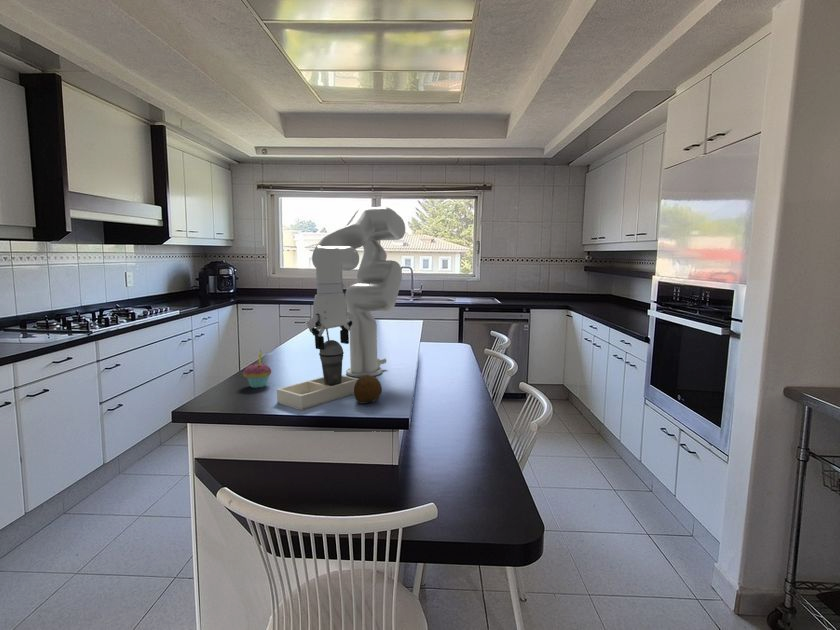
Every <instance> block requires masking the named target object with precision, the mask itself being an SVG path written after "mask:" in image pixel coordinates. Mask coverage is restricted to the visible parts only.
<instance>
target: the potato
mask: <svg viewBox="0 0 840 630" xmlns="http://www.w3.org/2000/svg"><path fill="white" fill-rule="evenodd" d="M357 379H358V380H357V382H356V384H355V387H354V394H353V395H354V398H355V401H356V402H357V403H360V404H367V403H368V404H369V403H372V402H374V401H376V400H378V399H379V397H380V396H381V394H382V391H383V388H382V387H383V386H382V385H381V382H380V381H379V379H378V378H377V377H376V376H369V375H365V376H362V377H358V378H357Z"/></svg>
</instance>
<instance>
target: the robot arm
mask: <svg viewBox="0 0 840 630" xmlns="http://www.w3.org/2000/svg"><path fill="white" fill-rule="evenodd" d="M405 234H406V224H405V221H404V219H403V218H402V217H401V216H400V215H399V213H397V212H396V211H395V210H393V209H392V208H390V207H388V206H377V207H376V206H371V207H368V206H367V207H362V208H359V209H358V210H357V211H355V213H354V214H353V216H352V217H351V219H350V220H349V221H348V222H347V224H346V225H345V226H343V227H341V228H339V229H337V230H335V231H333V232H331V233H330V234H327V235H325V236H324V237H323V238H322V239H320V241H318V243H317V245H315V247H314V250H313V252H312V254H311V255H312V256H311V262H312V264H313V266H314V268H315V272H316V273H315V276H316V293H317V294H314V298H313V309H312V310H313V311H312V318H310V319H309V320H308V321H307V322H306V326H307V327H308V330H309V332H310V333H311V334H312V336H314V346H315V349H316V350H319V351H320V350H324V342H325V337H324V336H323V334H324V331H326V329H333V328H340V330H339V340H340V341H339V342H340V344H345V345H349V351H350V352H349V355H350V356H349V357H350V361H349V363H350V367H349V368H347V369H346V376H348V377H352V378H360V377H362V376H365V375H369V376H374V377H376V376H379V375H381V374H382V373H383V368H382V367H380V366H381V365H384V364H387V359H386V357H384V358H378V331H377V330H378V329H377V328H378V324H377V321H376V319H375V317H374V315H373V314H372V312H390V311H391V310H393V309H394V308H395V306H396V302H397V300H398V296H399V292H400V288H401V283H402V280H403V279H402V278H403V270H402V267H401V264H400V263H399V262H398V261H396V260H389V259H388V260H387V256H388V255H387V252H386V250H385V249H384V247H383V246H382V245H381V244H380V243H379V242H378V241H398V240H401V239H403V238H404V236H405ZM361 247H362V248H363V255H362V259H361V262H360V255H359V254H360V253H359V252H358V250H357V249H360V248H361ZM358 266H359V268H358V271H357V274H356V277H357V282H358V283H354V284H351V285H349V286H348V287H347V288H346V290H345V293H344V289H345V287H346V286H345V284H344V282H343V272H345V271H347V272H348V271H352V270H354V269H356V268H357V267H358Z"/></svg>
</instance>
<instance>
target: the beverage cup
mask: <svg viewBox="0 0 840 630" xmlns="http://www.w3.org/2000/svg"><path fill="white" fill-rule="evenodd" d="M325 332H326V337H327V340H326V341H324V350H320V349H319V352H318V353H319V354H318V355H319V359H320V362H321V368H322V369H321V370H322V377H324V384H325V385H328V386H334V385H338V384H341V381H342V374H343V371H342V370H343V360H344V353H345V352H344V348H343V347H342V345H341V343H340V342H338V341H337V340H334V339H330V336H329V335H330V334H329V330H328V329H325Z"/></svg>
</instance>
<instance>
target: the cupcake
mask: <svg viewBox="0 0 840 630" xmlns="http://www.w3.org/2000/svg"><path fill="white" fill-rule="evenodd" d="M261 362H262V349H260V351H259V352H258V363H255V364H250V365H248V366H247V367H245V368H244V370H243V372H242V375H243V378H247V381H248V383H249V386H250V388H253V389H255V388H256V389H257V388H258V387H259V388H264V387H266V386H267V383H268V380H269V377H270V376H271V374H272V370H271V367H269V366H268V365H267V364H264V363H261Z"/></svg>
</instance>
